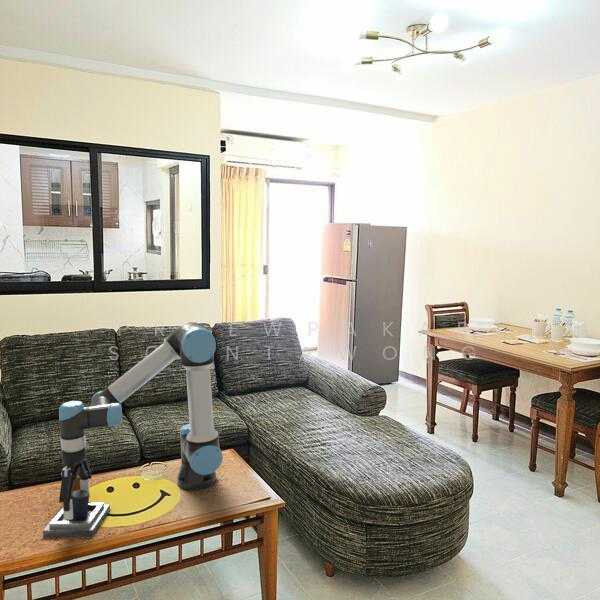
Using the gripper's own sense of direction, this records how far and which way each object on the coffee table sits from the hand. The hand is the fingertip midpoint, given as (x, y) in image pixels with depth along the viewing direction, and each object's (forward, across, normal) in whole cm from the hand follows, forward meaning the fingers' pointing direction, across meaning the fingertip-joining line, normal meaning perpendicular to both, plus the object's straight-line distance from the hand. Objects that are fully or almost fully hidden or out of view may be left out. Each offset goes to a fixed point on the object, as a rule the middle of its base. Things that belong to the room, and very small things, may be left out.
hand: (77, 508), depth 173 cm
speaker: (+3, -1, 0) cm, 3 cm away
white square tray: (+5, 0, 0) cm, 5 cm away
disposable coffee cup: (+5, -16, -7) cm, 18 cm away
